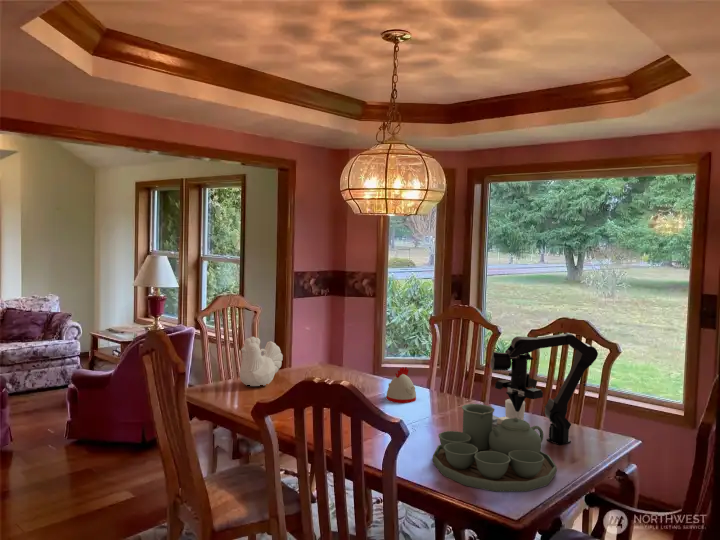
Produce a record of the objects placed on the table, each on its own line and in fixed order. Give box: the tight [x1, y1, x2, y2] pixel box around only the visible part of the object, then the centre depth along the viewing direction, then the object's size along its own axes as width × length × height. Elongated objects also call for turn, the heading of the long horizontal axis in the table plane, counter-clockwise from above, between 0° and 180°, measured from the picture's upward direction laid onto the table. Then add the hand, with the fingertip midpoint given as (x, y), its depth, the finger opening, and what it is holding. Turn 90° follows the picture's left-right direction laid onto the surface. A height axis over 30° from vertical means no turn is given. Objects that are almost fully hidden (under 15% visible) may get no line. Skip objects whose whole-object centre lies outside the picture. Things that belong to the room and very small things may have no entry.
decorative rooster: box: [239, 336, 284, 387], centre depth 299 cm, size 25×16×25 cm, turn 126°
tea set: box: [432, 403, 557, 492], centre depth 199 cm, size 40×40×16 cm
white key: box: [497, 416, 509, 424], centre depth 230 cm, size 4×4×3 cm
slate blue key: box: [492, 414, 500, 422], centre depth 235 cm, size 4×4×3 cm
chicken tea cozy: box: [385, 366, 417, 404], centre depth 279 cm, size 14×14×15 cm
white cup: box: [504, 398, 526, 421], centre depth 244 cm, size 8×8×10 cm
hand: (517, 411), depth 226 cm, fingers closed
